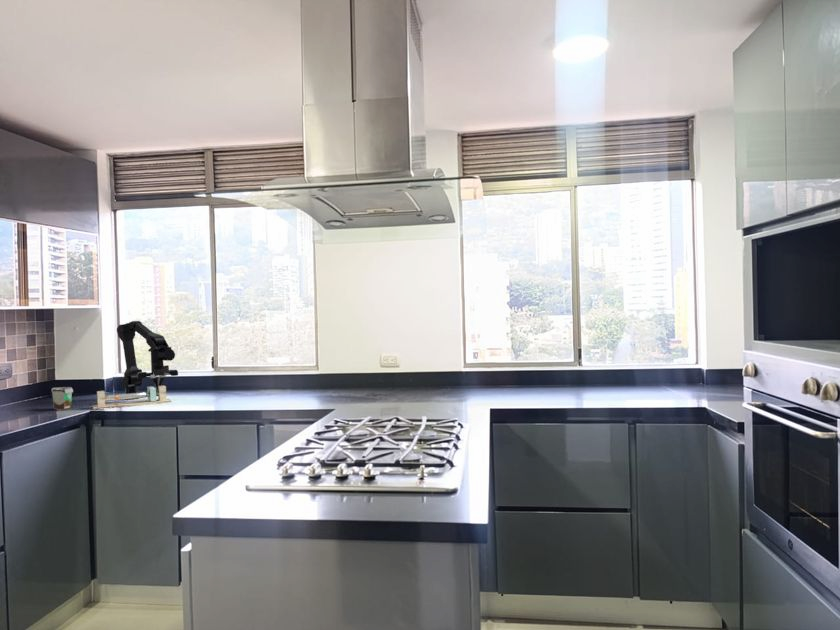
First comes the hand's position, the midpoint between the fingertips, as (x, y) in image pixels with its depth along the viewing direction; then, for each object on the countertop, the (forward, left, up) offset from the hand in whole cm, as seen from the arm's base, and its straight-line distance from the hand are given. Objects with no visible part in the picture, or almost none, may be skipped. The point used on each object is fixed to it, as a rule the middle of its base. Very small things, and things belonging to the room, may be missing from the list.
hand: (158, 390), depth 298 cm
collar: (+4, -4, -4) cm, 6 cm away
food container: (-5, -40, -5) cm, 41 cm away
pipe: (+6, -12, -2) cm, 14 cm away
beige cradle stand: (+6, -12, -5) cm, 15 cm away
